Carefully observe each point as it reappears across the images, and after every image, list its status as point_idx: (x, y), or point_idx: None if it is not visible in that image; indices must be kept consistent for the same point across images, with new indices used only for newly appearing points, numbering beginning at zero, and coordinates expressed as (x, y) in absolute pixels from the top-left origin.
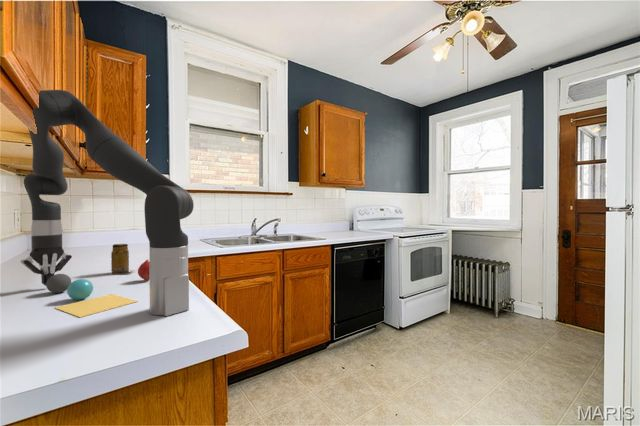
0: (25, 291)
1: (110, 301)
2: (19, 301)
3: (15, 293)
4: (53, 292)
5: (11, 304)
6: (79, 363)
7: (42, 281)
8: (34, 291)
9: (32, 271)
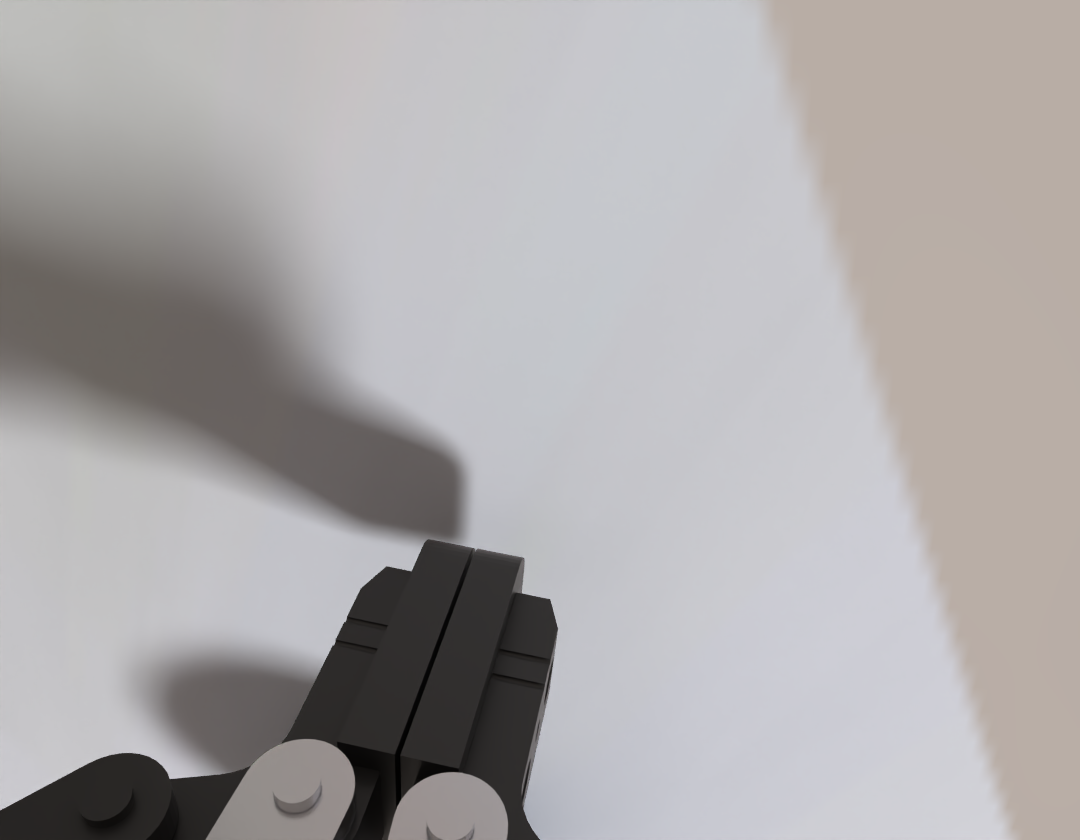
0: (196, 372)
1: None
2: (88, 750)
3: (59, 360)
4: None
5: (27, 769)
6: None
7: (362, 624)
8: (295, 507)
9: (28, 806)
